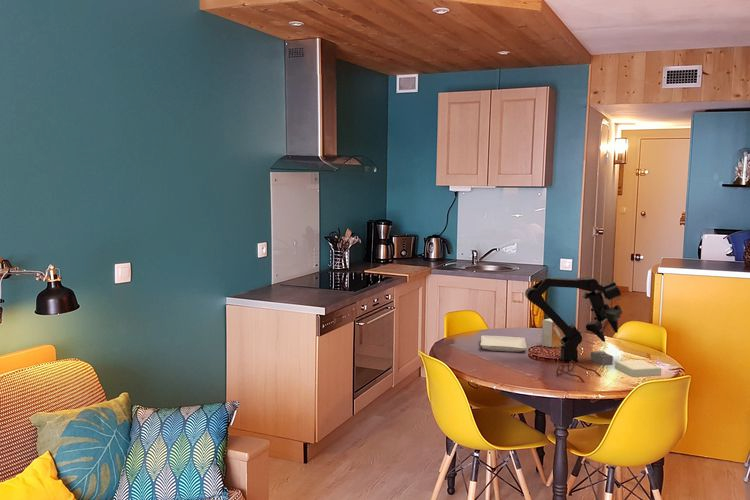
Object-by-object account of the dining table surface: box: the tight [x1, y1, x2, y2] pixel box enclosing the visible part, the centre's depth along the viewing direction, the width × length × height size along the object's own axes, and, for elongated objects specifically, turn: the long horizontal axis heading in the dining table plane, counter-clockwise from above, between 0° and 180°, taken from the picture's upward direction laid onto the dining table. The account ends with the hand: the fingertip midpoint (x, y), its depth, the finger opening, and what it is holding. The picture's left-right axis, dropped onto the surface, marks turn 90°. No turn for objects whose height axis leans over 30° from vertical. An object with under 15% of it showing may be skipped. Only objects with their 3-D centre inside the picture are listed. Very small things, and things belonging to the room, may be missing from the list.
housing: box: [590, 350, 614, 366], centre depth 286 cm, size 5×9×5 cm, turn 15°
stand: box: [614, 359, 662, 378], centre depth 272 cm, size 13×13×3 cm
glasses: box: [556, 360, 602, 384], centre depth 265 cm, size 13×13×5 cm
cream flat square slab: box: [480, 335, 528, 353], centre depth 312 cm, size 21×21×3 cm
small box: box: [541, 318, 565, 348], centre depth 313 cm, size 8×6×13 cm
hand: (610, 337), depth 286 cm, fingers open, 9 cm apart
